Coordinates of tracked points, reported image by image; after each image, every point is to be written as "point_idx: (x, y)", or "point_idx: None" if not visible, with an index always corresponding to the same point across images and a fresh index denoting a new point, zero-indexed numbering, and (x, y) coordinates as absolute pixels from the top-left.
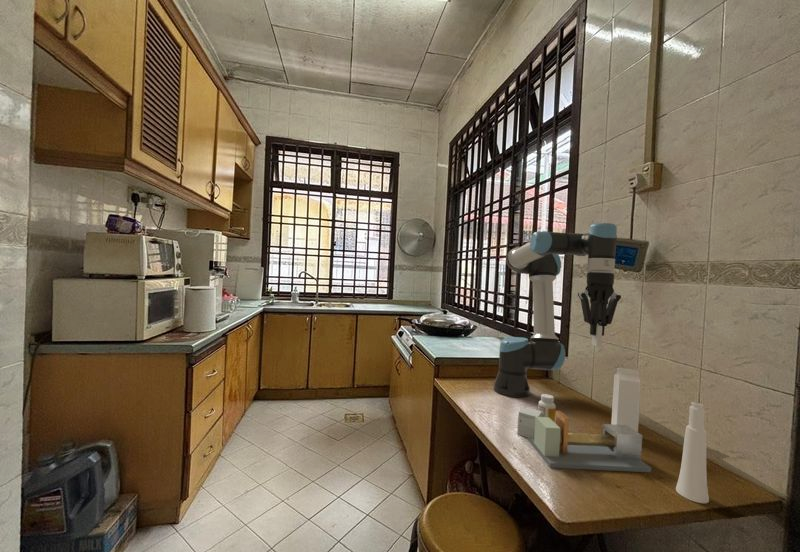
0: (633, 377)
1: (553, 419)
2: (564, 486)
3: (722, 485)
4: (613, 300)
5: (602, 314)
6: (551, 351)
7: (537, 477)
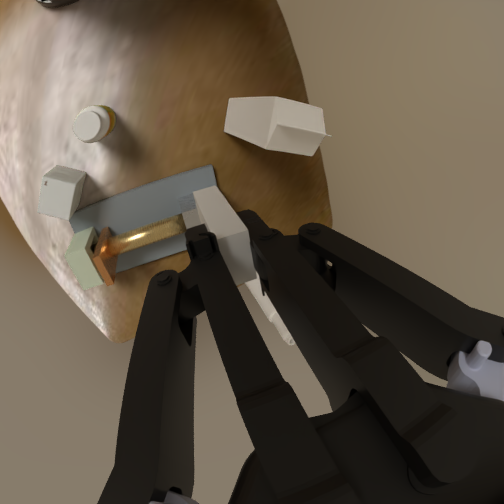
0: (307, 142)
1: (109, 132)
2: (115, 304)
3: (297, 230)
4: (438, 369)
5: (288, 330)
6: None
7: (88, 299)
